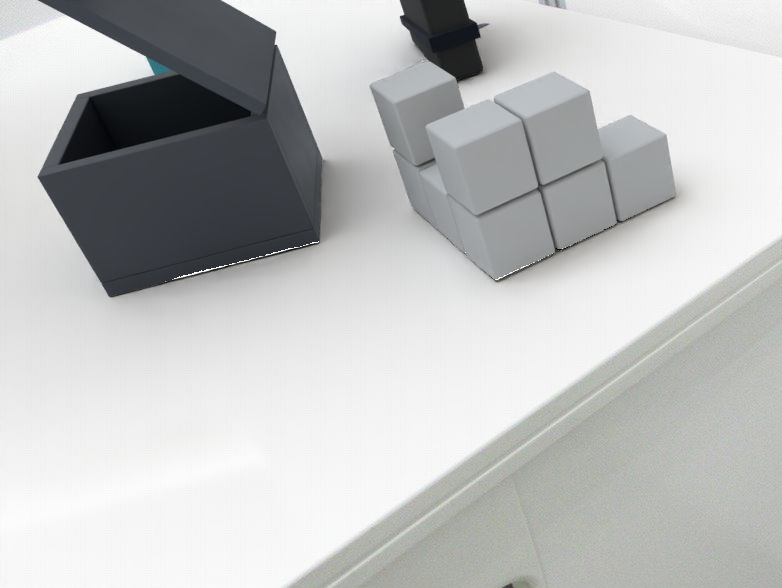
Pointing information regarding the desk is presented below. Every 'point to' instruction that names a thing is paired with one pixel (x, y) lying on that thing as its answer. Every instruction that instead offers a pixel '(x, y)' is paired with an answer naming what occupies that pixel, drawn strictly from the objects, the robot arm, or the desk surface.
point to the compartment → (183, 178)
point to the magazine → (444, 34)
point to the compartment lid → (189, 41)
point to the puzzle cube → (518, 164)
